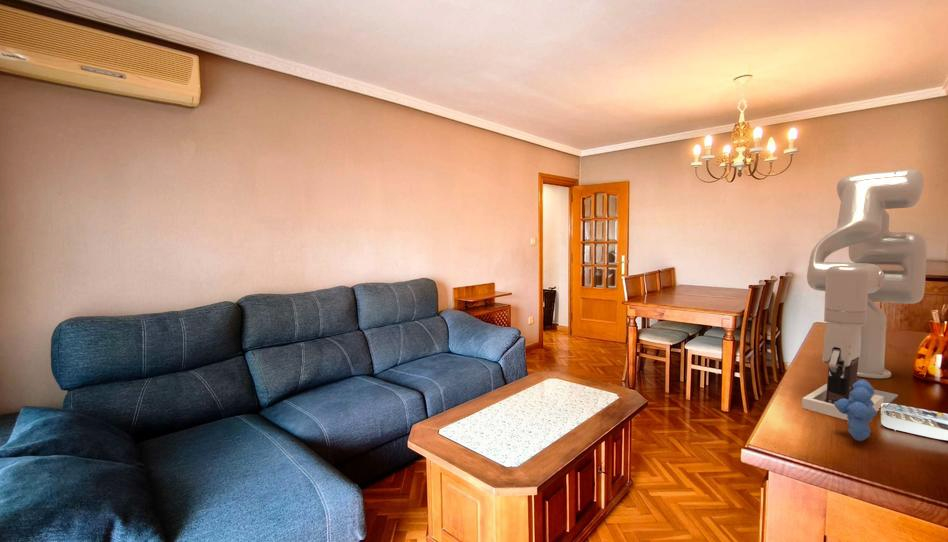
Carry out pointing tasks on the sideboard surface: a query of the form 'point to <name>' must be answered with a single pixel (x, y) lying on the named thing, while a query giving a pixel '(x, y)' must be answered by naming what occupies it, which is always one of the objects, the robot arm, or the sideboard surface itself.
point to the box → (851, 379)
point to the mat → (885, 396)
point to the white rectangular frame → (817, 403)
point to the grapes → (858, 409)
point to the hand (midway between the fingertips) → (841, 389)
